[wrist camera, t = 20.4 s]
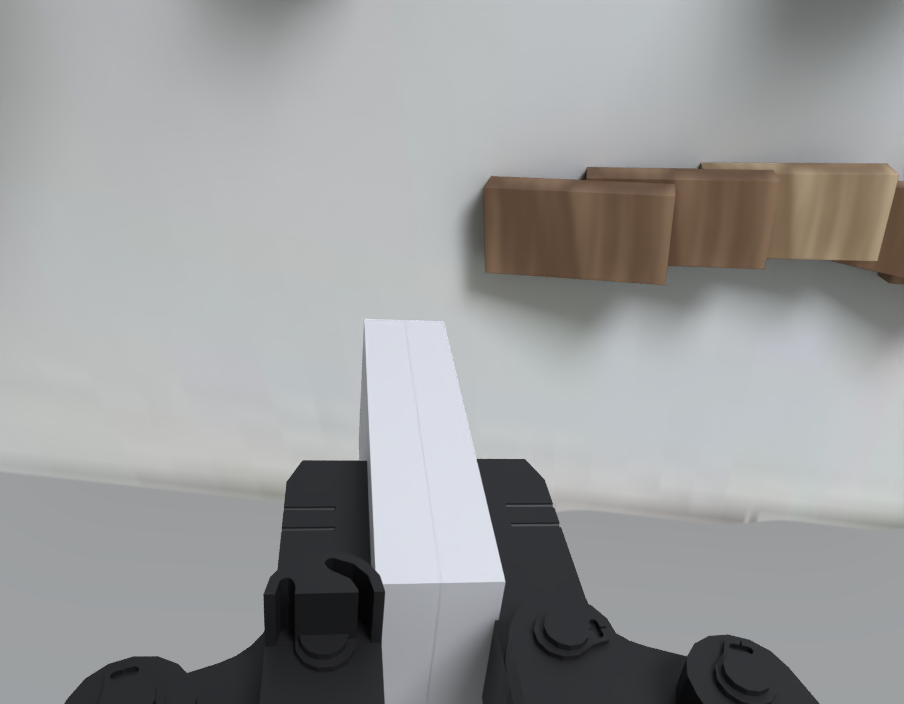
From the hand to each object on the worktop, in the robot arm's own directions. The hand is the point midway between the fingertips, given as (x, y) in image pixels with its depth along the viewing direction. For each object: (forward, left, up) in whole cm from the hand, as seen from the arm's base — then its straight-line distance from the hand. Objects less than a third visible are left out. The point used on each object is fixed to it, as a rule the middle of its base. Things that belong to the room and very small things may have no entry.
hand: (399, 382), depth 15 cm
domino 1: (+7, -7, -29) cm, 30 cm away
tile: (+19, -6, -29) cm, 35 cm away
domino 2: (+13, -6, -29) cm, 32 cm away
